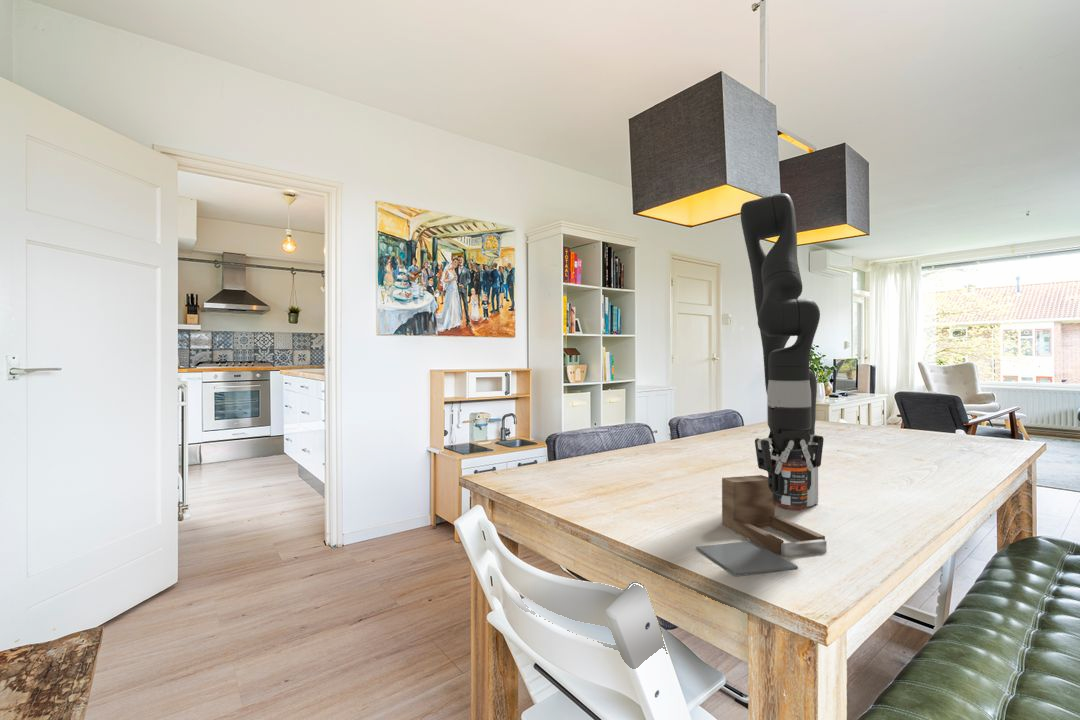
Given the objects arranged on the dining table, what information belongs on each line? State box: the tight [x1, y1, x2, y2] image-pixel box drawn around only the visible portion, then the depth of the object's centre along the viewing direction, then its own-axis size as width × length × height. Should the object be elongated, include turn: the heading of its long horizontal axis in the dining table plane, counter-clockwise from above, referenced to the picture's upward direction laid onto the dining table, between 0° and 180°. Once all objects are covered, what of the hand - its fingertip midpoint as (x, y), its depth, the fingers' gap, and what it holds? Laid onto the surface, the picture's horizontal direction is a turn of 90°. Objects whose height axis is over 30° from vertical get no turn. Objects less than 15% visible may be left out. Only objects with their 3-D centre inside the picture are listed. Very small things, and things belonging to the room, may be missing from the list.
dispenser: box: [721, 474, 827, 558], centre depth 99 cm, size 11×18×10 cm, turn 14°
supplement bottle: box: [773, 449, 808, 512], centre depth 94 cm, size 6×6×11 cm
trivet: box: [695, 540, 799, 577], centre depth 88 cm, size 12×12×1 cm
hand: (789, 490), depth 94 cm, fingers closed on supplement bottle, 6 cm apart
